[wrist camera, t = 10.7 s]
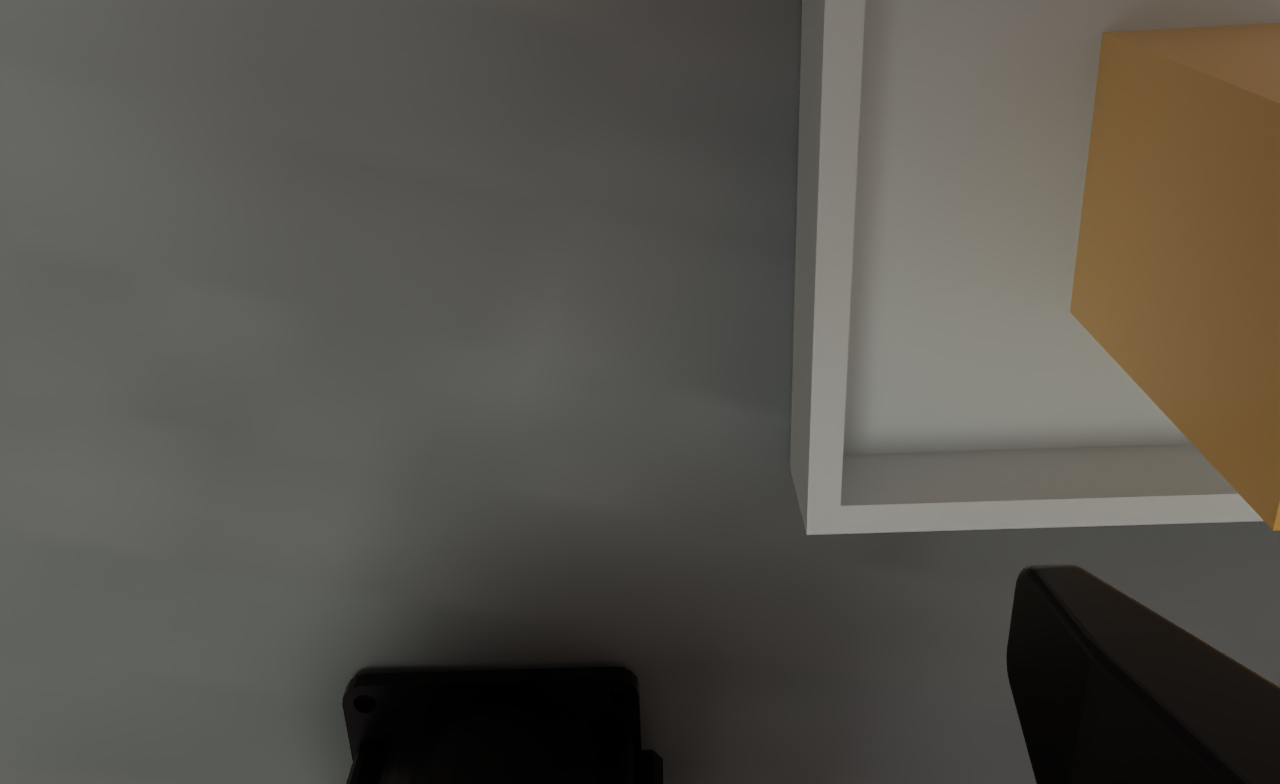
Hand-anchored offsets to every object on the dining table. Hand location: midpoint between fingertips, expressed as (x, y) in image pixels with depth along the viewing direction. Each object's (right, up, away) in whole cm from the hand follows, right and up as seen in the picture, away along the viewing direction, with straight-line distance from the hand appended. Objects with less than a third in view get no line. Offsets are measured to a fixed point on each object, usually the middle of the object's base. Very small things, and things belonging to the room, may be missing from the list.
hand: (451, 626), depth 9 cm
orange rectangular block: (+11, +6, +11) cm, 17 cm away
